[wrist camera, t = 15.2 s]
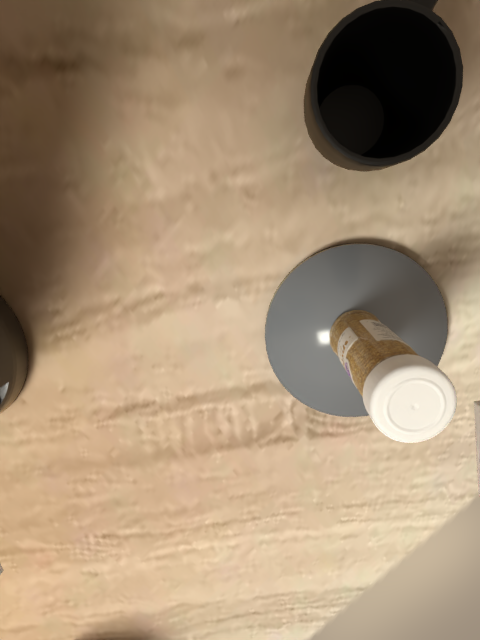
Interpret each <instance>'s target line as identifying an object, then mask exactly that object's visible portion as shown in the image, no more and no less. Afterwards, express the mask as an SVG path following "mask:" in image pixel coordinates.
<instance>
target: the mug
mask: <svg viewBox="0 0 480 640" xmlns="http://www.w3.org/2000/svg"><path fill="white" fill-rule="evenodd" d="M437 1H438V0H381V1H375V2H372V3H370V4H367V5H365V6H362V7H360V8H357V9H356V10H354V11H353V12H352V13H350V14H349V15H347V16H346V17H344V18H343V19H342V20H341V21H340V22H339V23H338V24H337V25H336V26H335V27H334V28H333V29H332V30H331V31H330V32H329V33H328V35H327V37H326V38H325V40H324V42H323V43H322V45H321V47H320V48H319V50H318V52H317V55H316V58H315V61H314V64H313V66H312V69H311V72H310V75H309V77H308V80H307V84H306V89H305V96H304V116H305V123H306V127H307V130H308V134H309V136H310V138H311V140H312V142H313V144H314V146H315V148H316V149H317V150H318V151H319V152H320V153H321V154H322V155H323V157H325V158H326V159H328V160H329V161H330V162H332V163H333V164H335V165H337V166H340V167H343V168H345V169H348V170H356V171H373V170H381V169H384V168H387V167H390V166H393V165H396V164H398V163H401V162H404V161H407V160H410V159H412V158H413V157H415V156H417V155H418V154H420V153H421V152H423V151H425V150H426V149H427V148H428V147H429V146H430V145H431V144H433V143H434V142H435V141H436V140H437V139H438V138H439V137H440V135H441V134H442V132H443V131H444V130H445V128H446V127H447V126H448V124H449V123H450V121H451V119H452V116H453V114H454V112H455V110H456V108H457V105H458V102H459V98H460V93H461V89H462V80H463V65H462V60H461V54H460V49H459V47H458V44H457V42H456V40H455V38H454V35H453V33H452V31H451V30H450V29H449V27H448V26H447V25H446V24H445V22H444V21H443V20H442V18H441V17H439V16H438V15H437V14H435V13H434V12H433V11H432V10H433V8H434V6H435V4H436V2H437Z"/></svg>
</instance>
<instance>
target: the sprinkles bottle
mask: <svg viewBox="0 0 480 640" xmlns="http://www.w3.org/2000/svg"><path fill="white" fill-rule="evenodd" d="M329 338H330V345H331V347H332V350H333V351H334V352H335V354H336V355H337V356H338V357H339V359H340V361H341V363H342V365H343V366H344V368H345V370H346V371H347V373H348V375H349V377H350V378H351V380H352V382H353V383H354V385H355V386H356V388H357V389H358V390H359V392H360V394H361V395H362V397H363V402H364V406H365V408H366V410H367V412H368V414H369V416H370V418H371V419H372V421H373V422H374V424H375V426H376V427H377V428H378V429H379V430H380V431H381V432H382V433H383V434H384V435H386V436H387V437H389V438H391V439H393V440H396V441H400V442H406V443H415V442H421V441H425V440H428V439H431V438H433V437H434V436H436V435H438V434H439V433H440V432H442V431H443V430H444V429H445V428H446V427H447V426H448V424H449V423H450V421H451V420H452V418H453V416H454V413H455V410H456V405H457V396H456V392H455V388H454V386H453V384H452V382H451V381H450V379H449V378H448V377H447V376H446V375H445V374H444V373H443V372H442V371H441V370H440V369H439V368H438V367H437V366H436V365H434V364H433V363H432V362H431V361H429V360H427V359H425V358H423V357H421V356H419V355H418V354H417V353H416V352H415V351H414V350H413V349H412V348H411V347H410V346H409V345H408V344H407V343H405V342H404V341H403V340H402V339H401V338H399V337H398V336H397V335H396V334H395V333H394V332H392V331H391V330H390V329H389V328H388V327H387V326H385V325H384V324H382V323H381V322H380V321H379V319H378V318H377V317H376V316H375V315H373V314H372V313H369V312H367V311H363V310H353V311H349V312H346V313H344V314H342V315H341V316H339V317H338V318H337V319H336V321H335V322H334V324H333V325H332V327H331V330H330V336H329Z"/></svg>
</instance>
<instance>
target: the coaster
mask: <svg viewBox="0 0 480 640" xmlns="http://www.w3.org/2000/svg"><path fill="white" fill-rule="evenodd" d="M353 310H363V311H367V312H369V313H372V314H373V315H375V316H376V317H377V318H378V319H379V321H380V322H381V323H382V324H384V325H385V326H387V327H388V328H389V329H390V330H391V331H392V332H394V333H395V334H396V335H397V336H398V337H399V338H401V339H402V340H403V341H404V342H405V343H407V344H408V345H409V346H410V347H411V348H412V349H413V350H414V351H415V352H416V353H417V354H418V355H419V356H421V357H423V358H425V359H427V360H429V361H431V362H432V363H433V364H434V365H436V366H438V364H439V361H440V359H441V357H442V354H443V351H444V348H445V344H446V338H447V314H446V308H445V304H444V301H443V298H442V295H441V293H440V291H439V289H438V287H437V285H436V284H435V282H434V281H433V279H432V278H431V276H430V275H429V274H428V273H427V272H426V271H425V270H424V269H423V268H422V267H421V266H420V265H419V264H417V263H416V262H415V261H414V260H412V259H411V258H409V257H407V256H406V255H404V254H402V253H400V252H397V251H395V250H393V249H389V248H386V247H382V246H379V245H373V244H366V243H352V244H344V245H338V246H334V247H331V248H327V249H325V250H322V251H320V252H317V253H316V254H314V255H312V256H310V257H308V258H307V259H305V260H304V261H303V262H301V263H300V264H299V265H297V266H296V267H295V268H294V269H293V270H292V271H291V272H290V273H289V274H288V275H287V276H286V277H285V279H284V280H283V281H282V282H281V284H280V285H279V287H278V289H277V290H276V292H275V294H274V296H273V298H272V300H271V303H270V306H269V309H268V312H267V317H266V324H265V341H266V350H267V354H268V358H269V361H270V364H271V366H272V369H273V371H274V373H275V374H276V376H277V378H278V379H279V381H280V382H281V383H282V385H283V386H284V387H285V389H286V390H287V391H289V392H290V393H291V394H292V395H293V396H294V397H295V398H296V399H298V400H299V401H300V402H302V403H303V404H305V405H307V406H309V407H311V408H313V409H315V410H318V411H320V412H323V413H327V414H330V415H336V416H342V417H359V416H368V415H369V414H368V412H367V410H366V408H365V406H364V402H363V397H362V395H361V394H360V392H359V390H358V389H357V388H356V386H355V385H354V383H353V382H352V380H351V378H350V377H349V375H348V373H347V371H346V370H345V368H344V366H343V365H342V363H341V361H340V359H339V357H338V356H337V355H336V354H335V352H334V351H333V350H332V347H331V345H330V338H329V336H330V330H331V327H332V325H333V324H334V322H335V321H336V319H337V318H338V317H339V316H341V315H342V314H344V313H346V312H349V311H353Z"/></svg>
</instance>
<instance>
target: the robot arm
mask: <svg viewBox="0 0 480 640" xmlns="http://www.w3.org/2000/svg"><path fill="white" fill-rule="evenodd" d="M27 369H28V351H27V344H26V340H25V337H24V333H23V331H22V328H21V326H20V324H19V321H18V320H17V318H16V316H15V314H14V313H13V311H12V310H11V308H10V307H9V306H8V304H7V303H6V302H5V301H4V300H3V298H2V297H1V296H0V413H1V412H3V411H4V410H5V409H6V408H8V407H9V406H10V405H11V404H12V403H13V401H14V400H15V399H16V398H17V396H18V395H19V393H20V391H21V389H22V387H23V385H24V382H25V379H26V375H27ZM474 415H475V434H476V453H477V472H478V491H479V497H480V401H475V402H474ZM2 572H3V569H2V566H1V564H0V575H1V573H2Z"/></svg>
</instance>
